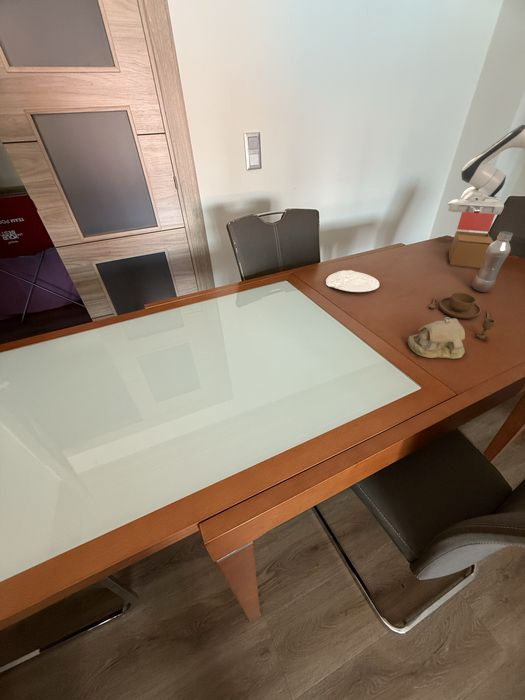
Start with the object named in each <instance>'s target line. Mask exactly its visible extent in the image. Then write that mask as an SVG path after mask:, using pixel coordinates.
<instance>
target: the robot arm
mask: <svg viewBox="0 0 525 700" xmlns="http://www.w3.org/2000/svg"><path fill="white" fill-rule="evenodd" d="M512 148H519V149H524V150H525V124H521V125H519V126H517V127H516V128H514V129H512V130H511V131H509V132H507V134H505V135H504V136H502V137H501V138H500V139H498V140H497V141H496V142H494V143H493V144H492V145H491V146H489V147H488V148H486V149H485V150H484V151H483V152H482V153H479V154H478V155H476V156H475V157H473V158H472V159H470V160H469V161H468V162H467V163H466V164H465V165H464V166H463V168H462V169H461V175H460V176H461V181H463V182H465V183H467V184H469V185H470V187H468V188H466V189H465V190H464V191H463V193H462V195H461V197H460V199H452V200H451V201H448V203H447V205H448V210H447V211H449V212H451V213H462V212H470V213H486V214H495V215H497V216H498V215H501V214H502V213H503V210H504V208H505V204H504V203H503V201H502V200H500V197H498V196H496V195H497V194H498V193H499V192H500V191H501V190H502V188H503V187H504V185H505V182H506V179H507V175H506V173H504V172H503V171H501V170H500V169H498V168H497V167H496V166H494V165H493V164H492V163H490V162H489V161H491V160H492V159H494V158H496V156H498V155H499V154H500V153H502V152H504V151H505V150H507V149H512Z"/></svg>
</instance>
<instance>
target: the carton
mask: <svg viewBox="0 0 525 700" xmlns="http://www.w3.org/2000/svg"><path fill="white" fill-rule="evenodd" d="M493 242H494V240H493V238H492V236H490V234H489V232H476V231H464V230H456V231H455V233H454V236H453V239H452V242H451V244H450V247H449V250H448V260H449V265H451V266H458V267H466V268H467V267H468V268H477V269H481V267H482V264H483V261H484V259H485V255H486V251H487V248H488V247H489V245H490V244H492V243H493Z"/></svg>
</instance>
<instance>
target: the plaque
mask: <svg viewBox="0 0 525 700" xmlns="http://www.w3.org/2000/svg"><path fill="white" fill-rule="evenodd" d="M325 284H326V286H327V287H330V288H334V289H336V290H340V291H345V292H351V293H366V292H371V291H375V290H377V289H378V288H379V287H380V281H379V280H378V279H377V278H376V277H374V276H372V275H370V274H367V273H364V272H361V271H355V270H352V269H350V270H339V271H336V272H333V273H331V274H330V275H328V276H327V277H326V279H325Z"/></svg>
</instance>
